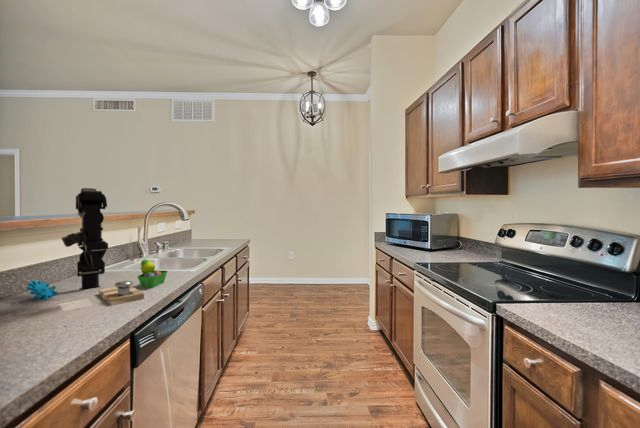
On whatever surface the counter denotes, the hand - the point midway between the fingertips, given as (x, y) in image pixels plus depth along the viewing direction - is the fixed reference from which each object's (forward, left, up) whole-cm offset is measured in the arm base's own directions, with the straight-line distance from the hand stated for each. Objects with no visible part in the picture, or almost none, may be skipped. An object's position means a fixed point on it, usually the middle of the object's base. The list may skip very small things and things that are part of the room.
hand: (92, 266), depth 112 cm
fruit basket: (-6, +22, -12) cm, 26 cm away
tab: (+8, -6, -12) cm, 16 cm away
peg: (+12, +7, -12) cm, 18 cm away
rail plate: (+8, +7, -12) cm, 16 cm away
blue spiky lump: (-11, -13, -12) cm, 21 cm away
